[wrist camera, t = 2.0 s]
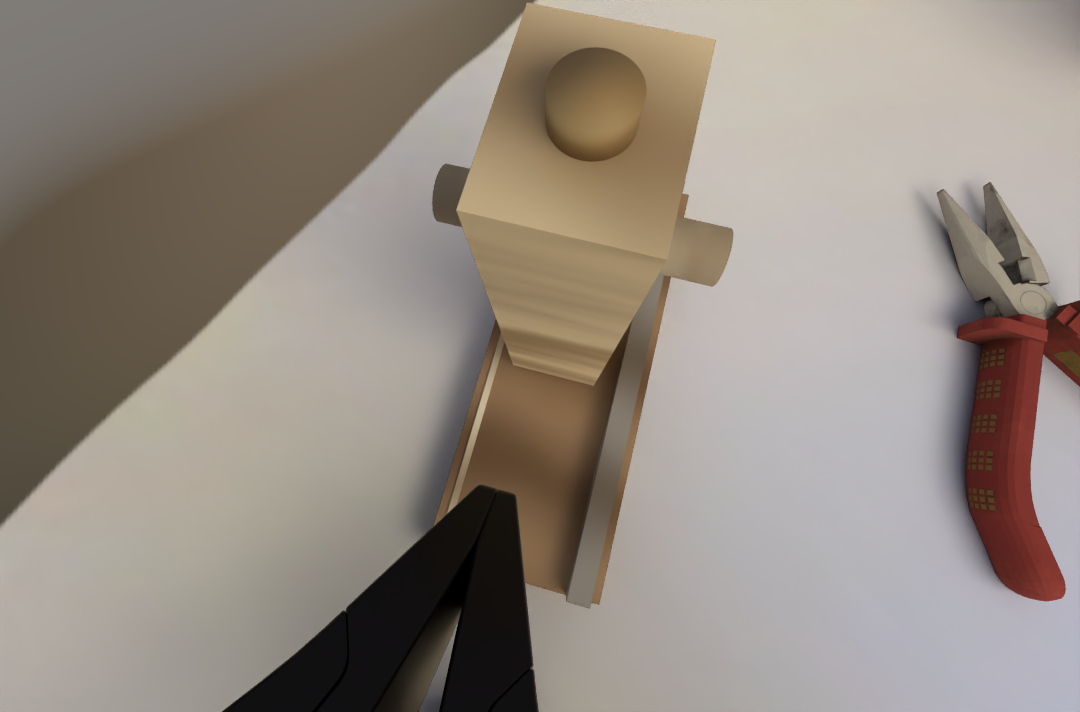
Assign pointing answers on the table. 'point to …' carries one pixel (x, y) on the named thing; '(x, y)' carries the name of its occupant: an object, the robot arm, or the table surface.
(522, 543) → the board
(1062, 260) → the table surface
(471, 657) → the robot arm
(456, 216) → the beige boxy piece
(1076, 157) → the table surface
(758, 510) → the table surface
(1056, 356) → the pliers
